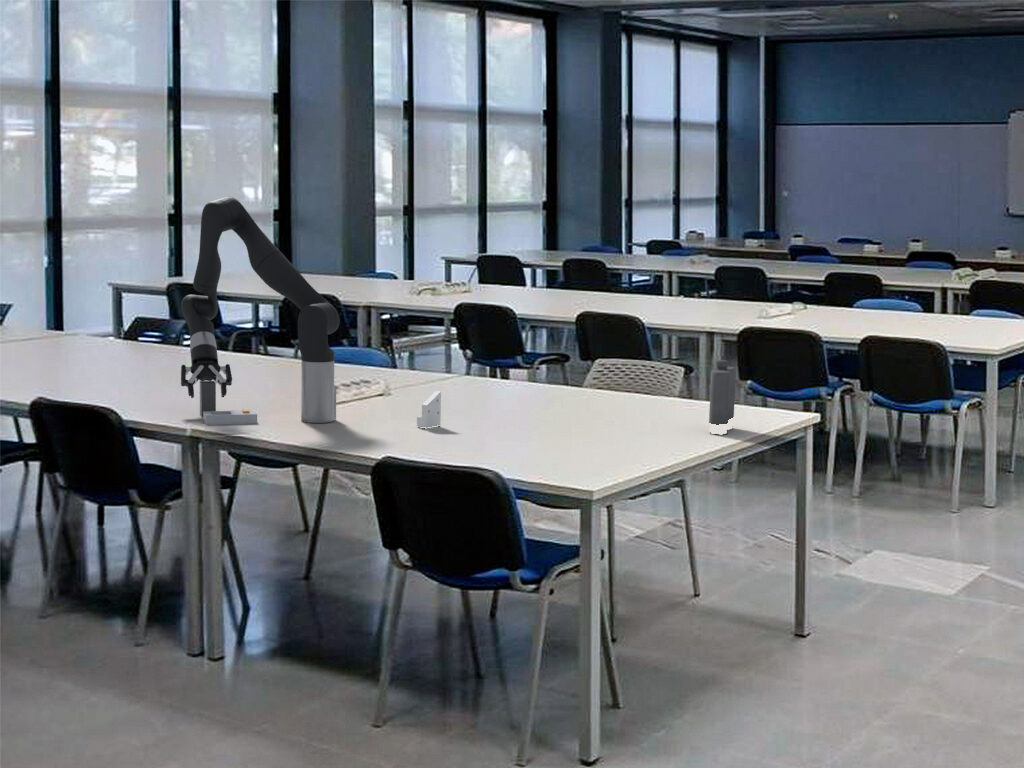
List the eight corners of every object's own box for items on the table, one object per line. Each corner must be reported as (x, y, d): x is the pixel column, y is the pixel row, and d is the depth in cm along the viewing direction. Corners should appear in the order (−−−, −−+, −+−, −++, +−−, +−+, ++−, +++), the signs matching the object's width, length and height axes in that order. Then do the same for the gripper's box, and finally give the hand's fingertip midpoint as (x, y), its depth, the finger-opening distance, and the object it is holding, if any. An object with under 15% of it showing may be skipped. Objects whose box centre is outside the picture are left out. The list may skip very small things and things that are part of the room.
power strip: (253, 420, 427) (253, 408, 427) (257, 424, 420) (257, 412, 420) (203, 422, 423) (203, 409, 422) (205, 426, 416) (205, 413, 416)
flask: (714, 426, 436) (717, 357, 433) (734, 427, 434) (737, 358, 432) (704, 434, 422) (707, 363, 419) (725, 436, 420) (728, 364, 418)
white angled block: (450, 416, 427) (440, 391, 423) (429, 437, 421) (419, 412, 417) (441, 414, 430) (431, 390, 425) (420, 436, 424) (409, 411, 419)
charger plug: (214, 415, 434) (213, 380, 433) (215, 417, 431) (215, 382, 429) (199, 415, 433) (199, 381, 432) (201, 418, 429) (201, 383, 428)
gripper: (179, 343, 434) (183, 388, 425) (229, 342, 438) (234, 387, 429) (177, 359, 440) (181, 404, 431) (227, 358, 444) (232, 403, 435)
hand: (208, 396), depth 430 cm, fingers open, 8 cm apart
